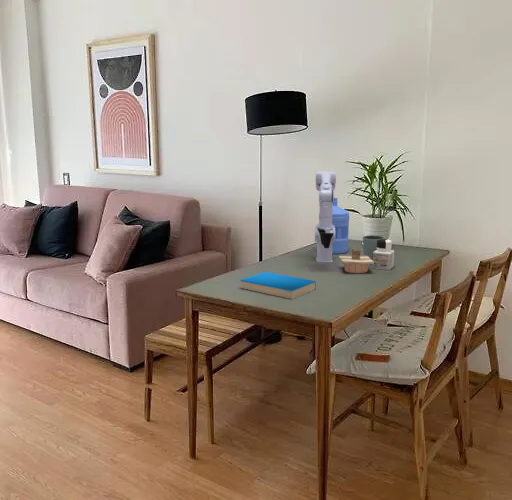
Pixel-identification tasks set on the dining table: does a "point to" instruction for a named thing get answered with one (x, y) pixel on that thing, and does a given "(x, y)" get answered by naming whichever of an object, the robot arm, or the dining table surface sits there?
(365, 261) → the lid
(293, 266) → the dining table surface
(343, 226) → the water jug
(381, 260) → the container
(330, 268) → the mat
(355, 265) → the bowl
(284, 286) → the book
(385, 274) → the dining table surface
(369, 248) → the dark green cup
